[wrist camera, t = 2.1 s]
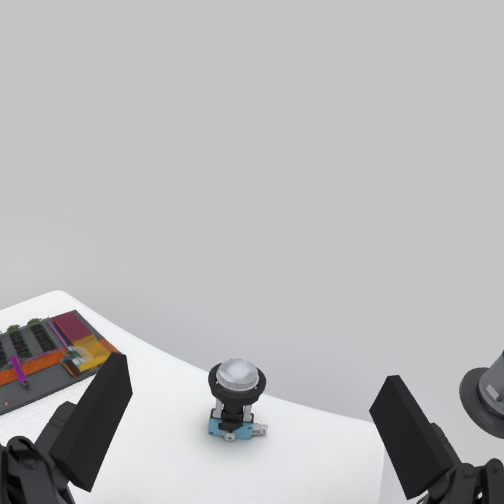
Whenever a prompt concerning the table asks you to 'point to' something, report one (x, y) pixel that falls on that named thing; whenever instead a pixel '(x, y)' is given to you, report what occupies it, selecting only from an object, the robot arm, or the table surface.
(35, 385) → the circuit board
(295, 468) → the table surface
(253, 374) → the push button
